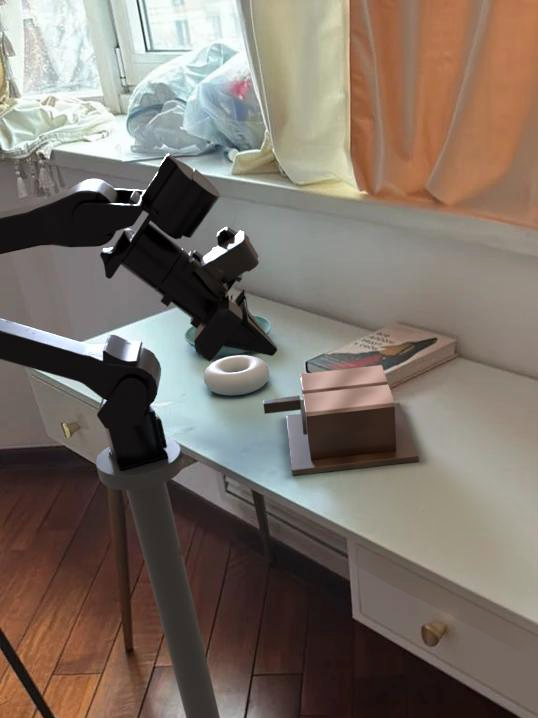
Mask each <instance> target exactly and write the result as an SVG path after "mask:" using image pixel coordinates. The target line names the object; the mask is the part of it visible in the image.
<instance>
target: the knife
mask: <svg viewBox="0 0 538 718" xmlns="http://www.w3.org/2000/svg"><path fill="white" fill-rule="evenodd" d="M262 404H263V405H262V406H263V411H264V414H265V415H266V414H276V413H284V412H293V411H300V414H301V417H302V426H303V435H307V427H306V418H305V409H304V400H303V397H301V398H300V395H293V396H284V397H275V398H265V399H262Z"/></svg>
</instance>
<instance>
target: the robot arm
mask: <svg viewBox="0 0 538 718" xmlns="http://www.w3.org/2000/svg"><path fill="white" fill-rule="evenodd" d="M220 198H221V194H220V192H219V190H218V189H217V188H216V187H215V185H214V184H213V183H212V182H211V181H210V180H209V179H208V178H207V177H206V176H205V175H204V174H202V172H200V171H199V170H198V169H196V168H193V167H191V166H189V165H187V164H186V163H185V162H183V161H180V160H178V159H177V158H175V157H174V156H173V155H172V154H171V153H166V155H165V156H164V158H163V160H162V161H161V163H160V166H159V168H158V171H157V172H156V174H155V175H154V177H153V178H152V180H151V181H150V183H149V184H148V186H147V187H146V189H130V188H129V189H128V188H115V187H113V185H110V184H109V183H107V182H106V181H105V180H103V179H100V178H89V179H85V180H82V181H81V182H78V183H76V184H74V185H72V186H69V187H67V188H65V189H63V190H61V191H59V192H57V193H55V194H53V195H51V196H49V197H48V198H46V199H44V200H41V201H39V202H36V203H35V204H29V205H26V206H22V207H21V206H20V207H17V208H12V209H8V210H4V211H0V255H4V254H8V253H13V252H17V251H22V250H26V249H31V248H35V247H36V248H37V247H41V246H57V247H63V248H92V247H93V248H95V247H102V246H104V245H107V244H108V243H109V242H111V241H112V239H113V238H114V237H115V234H116V233H117V232H118V231H121V230H123V231H122V233H121V234H120V236H119V237H118V238H117V240H116V241H115V243H114V244H113V246H112V247H108V248H107V247H104V248H102V250H101V251H100V253H99V257H100V258H101V260H102V264H103V268H104V274H105V275H104V276H105V278H106V279H108V280H110V279H112V278H113V277H114V276H115V274H116V273H117V271H118V270H119V268H120V267H123V268H124V269H125V270H127V271H128V272H129V273H131V275H133V276H134V277H136V278H137V279H139V280H140V281H141V282H143V283H144V284H145V285H146V286H148V287H149V288H150V289H151V290H153V291H154V292H156V293H157V294H159V295H160V296H161V297H160V303H162V304H163V305H164V306H166V307H167V308H168V307H169V306H170V305H173V306H174V307H176V308H177V309H178V310H179V311H181V312H182V313H184V314H185V315H186V316H188V317H189V318H190V322H189V324H190V325H191V326H194V327H195V328H197V329H196V330H195V338H194V343H195V348H194V349H195V353H196V354H198V355H199V356H201V357H202V358H203V359H205V360H206V361H207V362H209V363H210V362H212V361H213V360H214V359H215V357H217V356H216V355H217V353H218V352H219V351H220V350H221V348H222V347H223V346H224V347H230V348H236V349H241V350H246V351H248V352H251V353H254V354H255V353H256V354H260V355H265V356H269V357H274V356H275V354H276V353H277V352H278V346H277V344H275V343H274V341H273V339H271V337H270V336H269V334H268V335H267V334H266V332H265V331H264V330H263V329H262V327H261V326H260V325H259V324H258V322H257V321H256V320H255V319H254V317H253V316H252V315H253V314H252V313H251V312H250V310H249V307H248V300H247V299H248V298H247V291H246V289H245V288H243V289H242V290H241V291H240V293H239V294H238V296H235V295H234V294H231V295H230V294H229V291H230V290H231V289H232V287H233V286H234V284H235V283H236V282H237V283H240V282H241V281H242V280H243V275H244V274H245V273H246V272H251V271H252V270H254V269H255V268H256V267H257V266H258V265H259V263H260V261H259V254H258V252H257V251H256V249H255V247H254V246H253V244H252V243H251V241H250V237H249V236H248V235H247V234H246V233H245V231H242V230H241V229H240V230H239V231H238V232H237V231H235V230H234V229H232V228H231V227H229V226H226V227H224V228H222V229H220V230H219V231H218V232H217V233H216V240H217V246H213V248H212V249H211V251H210V252H207V254H205V255H204V256H203V255H202V254H201V253H200V252H199V251H198V250H192V249H190V250H189V251H188V252H187V251H186V250H185V249H184V248H182V246H180V245H178V244H177V243H176V242H174V240H181V239H182V238H183V237H185V238H188V239H192V237H193V236H194V234H195V233H196V232H197V230H198V228H199V227H200V226H201V225H202V223H203V221H204V220H205V218H206V217H207V216H208V215H209V213H210V212H211V210H212V209H213V207H214V206H215V205H216V203H217V202H218V201H219V199H220ZM143 212H145V213H146V215H145V216H144V217H143V219H142V220H141V222H140V223H139V225H138V226H137V228H135V230H134V229H132V228H130V227H133V226H135V224H136V222H137V221H138V219H139V218H140V217H141V215H142V213H143ZM151 222H152V223H151ZM171 238H172V239H173V240H172V239H171ZM142 346H143V341H131V340H128V339H125V338H123V337H121V336H119V335H116V334H113V333H109V334H108V336H107V338H106V342H105V344H104V343H103V344H88V343H83V342H81V341H78V340H74V339H71V338H67V337H64V336H60V335H57V334H54V333H50V332H48V331H43V330H40V329H37V328H34V327H30V326H27V325H24V324H20V323H17V322H13V321H10V320H7V319H3V318H0V360H1V361H4V362H8V363H12V364H15V365H19V366H22V367H24V368H29V369H32V370H36V371H40V372H43V373H46V374H50V375H54V376H56V377H60V378H64V379H68V380H71V381H73V382H74V381H75V382H78V383H80V384H81V385H83V386H86V387H87V389H89V390H90V391H92V392H93V393H94V394H96V396H99V397H100V398H101V400H100V404H99V408H98V410H97V413H96V417H97V419H98V420H99V421H100V423H101V424H102V425H103V427H104V430H105V434H106V438H107V441H108V445H109V446H110V449H109V450H108V451H109V454H110V455H111V457H112V459H113V460H114V462H115V464H116V465H117V467H118V468H119V470H120V471H125V470H129V469H132V468H136V467H139V466H143V465H146V464H150V463H153V462H157V461H160V460H164V459H167V458H168V454H167V452H166V451H165V450H164V449H165V448H167V443H166V439H165V437H166V434H165V430H164V425H163V421H162V419H161V417H160V416H159V415H158V414H157V413H156V410H155V409H154V407H153V406H152V404H153V403H154V402H155V400H156V398H157V396H158V391H159V387H160V382H161V378H162V377H161V376H162V366H161V362H160V361H159V359H158V357H157V356H156V354H155V353H154V352H152V351H151V350H149V349H148V348H146V347H142ZM109 446H108V447H109Z"/></svg>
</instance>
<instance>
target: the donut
mask: <svg viewBox="0 0 538 718" xmlns="http://www.w3.org/2000/svg"><path fill="white" fill-rule="evenodd" d="M269 378H270V368H269V366H268V365H267V364H266V362H265V361H264V360H263V359H261V358H259V357H257V356H252V355H246V354H245V355H244V354H238V355H233V356H224V357H223V358H219V359H217V360H216V361H213V362H211V364H209V365H208V367H206V369H205V371H204V374H203V381H204V384H205V386H206V387H207V388H208V389H209V390H210V391H211V392H212V393H214V394H217V395H221V396H232V397H233V396H242V395H247V394H250V393H252V392H255V391H258V390H260V389H261V388H262V387H263V386H265V384H266V383H267V382H268V381H269Z"/></svg>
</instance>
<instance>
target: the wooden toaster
mask: <svg viewBox="0 0 538 718" xmlns="http://www.w3.org/2000/svg"><path fill="white" fill-rule="evenodd" d="M299 377H300V387H301V395H302V398H303V400H304V409H305V418H306V427H307V435H303V426H302V417H301V413H295V414H287V415H286V425H287V434H288V435H287V436H288V446H289V457H290V467H291V475H292V476H302V475H311V474H321V473H328V472H336V471H337V472H338V471H344V470H345V471H346V470H353V469H354V470H355V469H363V468H372V467H373V468H374V467H381V466H390V465H398V464H399V465H400V464H407V463H415V462H416V463H417V462H419V461H420V459H419V457H420V455H419V453H418V450H417V447H416V445H415V443H414V439H413V436H412V434H411V431H410V430H411V429H410V428H409V425H408V422H407V420H406V416H405V414H404V410H403V408H402V404H401V403H400V402H395V400H394V397H393V394H392V393H393V392H392V390H391V388H390V385H389V384H388V383H389V382H388V379H387V376H386V373H385V370H384V367H383V365H382V364H378V365H370V366H361V367H360V366H359V367H352V368H343V369H334V370H326V371H325V370H324V371H316V372H307V373H300V374H299Z"/></svg>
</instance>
